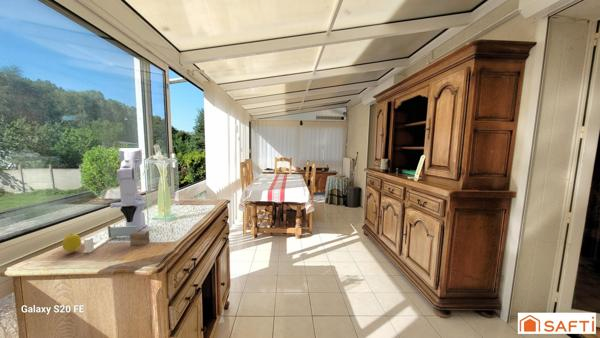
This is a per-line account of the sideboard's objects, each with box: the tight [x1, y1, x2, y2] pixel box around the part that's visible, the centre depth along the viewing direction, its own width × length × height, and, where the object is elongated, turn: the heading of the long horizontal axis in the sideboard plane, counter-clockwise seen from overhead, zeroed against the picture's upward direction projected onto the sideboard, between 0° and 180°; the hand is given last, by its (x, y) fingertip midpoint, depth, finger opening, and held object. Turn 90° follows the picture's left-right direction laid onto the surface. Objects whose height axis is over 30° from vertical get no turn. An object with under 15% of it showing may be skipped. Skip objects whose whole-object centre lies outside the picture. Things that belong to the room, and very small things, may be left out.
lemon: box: [61, 233, 82, 253], centre depth 96 cm, size 6×6×8 cm
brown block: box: [129, 230, 150, 247], centre depth 105 cm, size 4×6×5 cm, turn 101°
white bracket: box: [83, 224, 116, 254], centre depth 105 cm, size 18×2×5 cm, turn 11°
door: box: [107, 225, 138, 238], centre depth 112 cm, size 12×2×5 cm, turn 99°
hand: (130, 221), depth 110 cm, fingers closed
